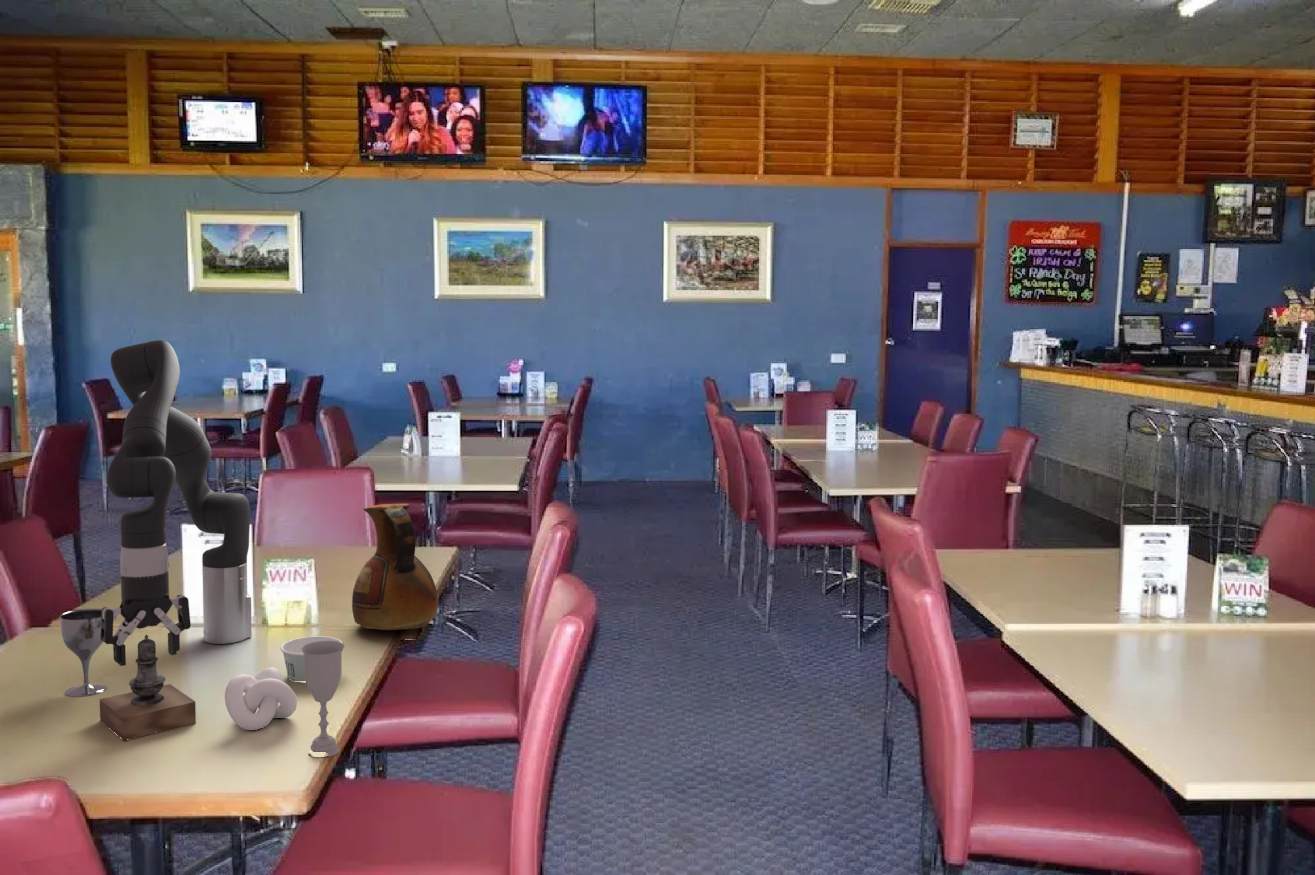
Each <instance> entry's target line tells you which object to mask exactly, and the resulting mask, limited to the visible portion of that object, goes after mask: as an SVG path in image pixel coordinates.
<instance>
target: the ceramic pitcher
mask: <svg viewBox="0 0 1315 875" xmlns="http://www.w3.org/2000/svg"><path fill="white" fill-rule="evenodd" d="M410 506H411V505H410V503H389V504H388V503H387V504H385V503H384V504H383V503H382V504H376V505H371V506H369V507H365V508H363V511H364V512H366V513H367V514H368V516H369V517H370V518H371V519H372V522H373V523H374V527H375V530H376V538H377V541H376V543H377V545H376V550H375V553H374V554H373V555H372V557H370V558H369V560H368V561H367V562H365V564H364V565H363V566H362V568H361V570H360V571H359V573H358V576H357V578H356V580H355V583H354V587H353V590H352V596H351V598H352V599H351V609H352V615H353V620H354V622H355V623H356V624H357V625H360V626H361V627H363V628H365V629H369V630H370V629H373V630H379V631H381V630H382V631H400V630H401V631H402V630H410V629H420V628H424V627H426V626H427V625H428V624H429V623H430V622H432V620H433V619H434V618H435V617H436V616H437V612H438V603H439V602H438V593H437V586H436V585H435V581H434V579H433V576H432V575H431V572H430V571H429V569H428V568H427V567H426V565H425V564H424V563H423V562H422V561H421V559H419V558H418V557H417V556H416V555H415V554H416V543H417V542H416V534H415V529H414V525H413V520H412V519H411V516H410V514H409V513H408V512H407V510H408V509H409V508H410Z"/></svg>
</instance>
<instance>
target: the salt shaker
mask: <svg viewBox="0 0 1315 875" xmlns="http://www.w3.org/2000/svg"><path fill="white" fill-rule="evenodd" d="M156 647H157V646H156V642H155V641H154V640H153V639H151V638H149V635H147V634H145V636H144V638H143V639H142V640H140V641H139V642H138V644H137V659H136V660H135V664H137V672H136V676H135V677H133V678H132V679H130V680H129V682H128V685H129V686H130V689H131V692H133V693H134V694H135V695H137V696H136V697H135V698H133V699H132V700H131V703H132V704H134V705H139V706H146V705H152V704H156V703H159V702H161V701H163V699H164V696H163V695H160V694H158V693H159V692H160V691H161V689H162V688H163V685H165V684H164V683H165V682H166V676H163V675H159V674H158V671H157V662H158V660H159V658H158V657H157V655H156V650H157V648H156Z"/></svg>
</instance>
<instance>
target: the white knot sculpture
mask: <svg viewBox="0 0 1315 875" xmlns="http://www.w3.org/2000/svg"><path fill="white" fill-rule="evenodd" d="M224 702H225V707H226V711H227V712H228V714H229V716H230V718H231V719H232V720H233V722H234V723H235V724H236V725H237V726H238V727H240V728H241V729H243V730H245V731H248V730H256V731H258V730H257V729H260V728H262V729H263V728H266V727H267V726H268V724H270V723H271V721H272V720H273V719H276V718H284V719H286V717H287V718H289V717H291V716H292V715H293V714H294V713H295V711H296V710H297V706H298V704H297V703H298V698H297V695H296V693H295V692H294V691H293V689H292V687H290V685H288V683H286V682H284V681H283V678H282V674H281V672H280V670H279V669H278V668H276V667H272V666H270V667H267V668H264V669H262V670H261V671H260V672H258V674H257V676H255V677H254V676H252V675H249V674H245V673H244V674H243V673H242V674H237V675H236V676H233V677H231V678H230V680H229V681H228V683H227V685H226V688H225V691H224ZM260 730H261V729H260Z"/></svg>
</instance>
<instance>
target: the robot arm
mask: <svg viewBox="0 0 1315 875" xmlns="http://www.w3.org/2000/svg"><path fill="white" fill-rule="evenodd" d="M110 366H111V370H112V372H113V375H114V378H115V379H116V382H117V383H118V386H120V388H121V390H122V391H123V393H124V394H125V396H126V398H127V399H128V400H129V402H130V403H131V404H132V407H131V409H130V410H129V411H128V413H127V415H126V417H125V420H124V421H123V422H124V423H123V427H122V428H123V431H122V439H121V440H122V441H121V444H120V446H119V450H117V452H116V454H115V456H114V457H113V459H112V460H111V463H110V464H109V467H108V469H107V474H106V485H107V488H108V489H109V491H110V492H111V493H112V494H113V495H114V496H115V497H116V498H120V499H121V498H123V499H132V498H134V499H135V498H153V500H152V502H151V503H150V504H149V505H148V506H145V507H142V508H139V509H134V510H130V511H128V512H125V513H123V515H122V516H121V518H120V542H121V546H120V548H121V549H120V558H119V560H120V562H119V566H120V591H121V592H120V596H121V603H120V605H119V606H117V607H112V608H111V607H110V608H109V607H107V606H104V607H102V608H101V609H102V610H101V634H100V639H101V640H102V641H103V643H105V644H106V645H112V648H113V649H112V651H113V652H112V653H113V660H114V662H115V663H117V664H118V665H119V666H120V667H123V666H126V665H127V659H126V658H127V656H126V655H127V654H126V653H127V652H126V644H125V642H126V640H127V639H128V638H129V636H131V635H132V634H133V633H134V631H135V629H138V630H140V629H144V628H148V627H157V626H158V625H159V624H162V626H164V627H165V628H166V630H168V631H169V632H168V633H167V651H168V654H169V655H171V656H176V655H177V654H178V652H179V651H180V648H181V645H180V644H181V643H180V642H181V640H180V636H181V633H182V632H183V631H185V630H190V628H191V626H192V625H191V615H190V614H191V613H190V603H189V602H190V601H189V598H188V597H186V596H184V595H183V594H177V595H176V597H172V598H170V597H171V596H170V576H169V574H170V573H169V567H170V563H169V554H168V548H167V525H166V523H167V513H168V512H167V511H168V506H169V503H170V502H169V501H170V499H171V494H172V493H173V489H174V485H175V482H176V484H177V486H178V488H179V490H180V492H181V494H182V497H183V499H184V502H185V504H186V507H187V510H188V512H189V515H190V516H191V519H192V521H193V524H194V525H195V527H196V528H197V529H198V530H199V531H201V532H203V533H206V534H214V535H215V534H217V535H223V542H222V544H220V545H219V546H216V547H212V548H210V549H206V550H205V551H203V553H202V558H201V560H202V562H201V563H202V564H201V566H202V606H203V607H202V609H203V610H202V612H203V613H202V614H203V631H202V632H203V642H205V643H208V644H213V645H225V644H232V643H233V644H234V643H238V642H241V641H243V640H246V639H249V638H252V637H253V634H252V629H253V628H252V596H251V595H249V594H248V554H249V549H250V548H249V547H250V529H251V528H250V526H251V525H250V524H251V507H250V502H249V500H248V498H247V496H246V495H244V494H242V493H237V492H221V491H220V492H217V491H214V490H212V489H211V488H210V486H209V484H208V482H207V479H206V473H207V471H208V469H209V465H210V463H211V459H212V447H211V445H210V443H209V441H208V438H207V437H206V435H205V432H204V430H203V429H202V427H201V425H200V424H199V423H198V421H197V420H195V419H194V418H193V417H191V416H189V415H188V414H186V413H184V412H183V411H181V410H179V409H177V408H175V407H174V406H172V405H173V402H174V398H175V394H176V392H177V387H178V385H179V381H180V375H181V374H180V373H181V372H180V362H179V358H178V356H177V354H176V352H175V348H173V346H172V345H171V343H170V342H168V341H166V340H164V339H162V340H161V339H159V340H158V339H157V340H151V341H146V342H142V343H137V344H133V345H127V346H124V347H121V348H118V349H116V350H114V351H113V352H112V353H111V357H110ZM172 605H173V607H174V609H176V610H177V621H178V622H177V623H175V622H174V621H173V620H172V619H171V618H170V617H169V616H168V612H169V610H170V609H171V608H172ZM120 615H121V616H122V617H123V620H122V621H121V622H120V624H119V625H118V628H117V630H116V632H115V633H114V621H116V620H117V619H118V616H120Z"/></svg>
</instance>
